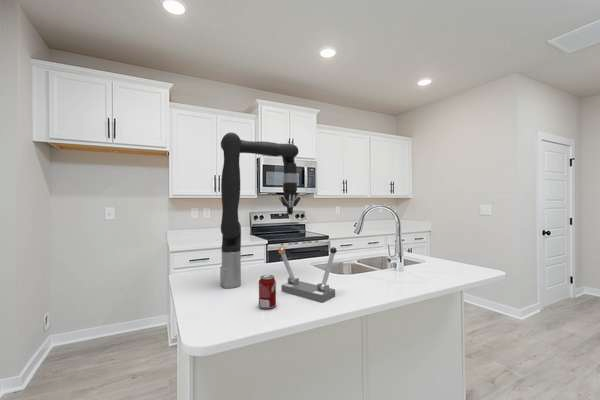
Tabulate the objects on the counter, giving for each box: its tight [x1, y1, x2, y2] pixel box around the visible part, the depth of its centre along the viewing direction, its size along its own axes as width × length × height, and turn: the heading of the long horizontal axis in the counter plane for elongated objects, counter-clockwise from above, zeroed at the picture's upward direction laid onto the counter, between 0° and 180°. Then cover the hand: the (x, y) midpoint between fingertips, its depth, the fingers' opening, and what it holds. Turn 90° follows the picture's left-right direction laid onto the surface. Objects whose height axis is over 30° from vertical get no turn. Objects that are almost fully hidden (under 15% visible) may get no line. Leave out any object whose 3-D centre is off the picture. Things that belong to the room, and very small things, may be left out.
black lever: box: [319, 246, 338, 291], centre depth 125 cm, size 3×3×20 cm
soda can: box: [258, 274, 277, 310], centre depth 112 cm, size 7×7×12 cm
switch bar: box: [281, 276, 336, 304], centre depth 127 cm, size 10×23×6 cm, turn 51°
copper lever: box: [277, 247, 296, 283], centre depth 129 cm, size 3×3×20 cm
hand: (289, 214), depth 151 cm, fingers closed
